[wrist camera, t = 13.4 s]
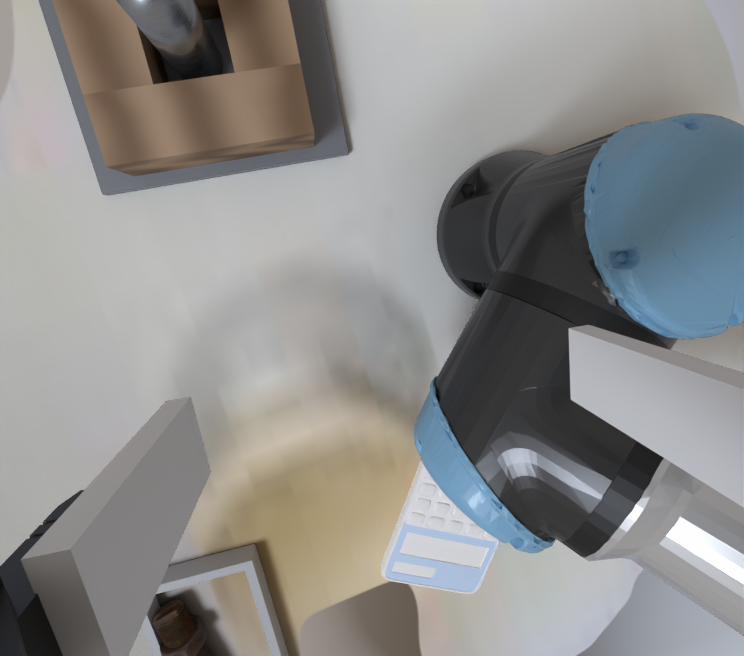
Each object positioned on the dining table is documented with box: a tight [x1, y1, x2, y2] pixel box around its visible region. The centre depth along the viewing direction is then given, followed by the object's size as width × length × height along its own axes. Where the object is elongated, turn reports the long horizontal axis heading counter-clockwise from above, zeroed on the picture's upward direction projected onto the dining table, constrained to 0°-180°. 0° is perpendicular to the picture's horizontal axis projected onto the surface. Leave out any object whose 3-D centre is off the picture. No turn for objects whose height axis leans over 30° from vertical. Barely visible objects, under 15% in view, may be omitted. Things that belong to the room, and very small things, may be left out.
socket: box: [39, 0, 348, 195], centre depth 32 cm, size 22×18×6 cm
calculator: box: [381, 460, 500, 594], centre depth 49 cm, size 13×20×2 cm, turn 161°
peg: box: [116, 0, 223, 80], centre depth 28 cm, size 4×4×12 cm
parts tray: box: [141, 544, 289, 656], centre depth 47 cm, size 13×22×2 cm, turn 10°
